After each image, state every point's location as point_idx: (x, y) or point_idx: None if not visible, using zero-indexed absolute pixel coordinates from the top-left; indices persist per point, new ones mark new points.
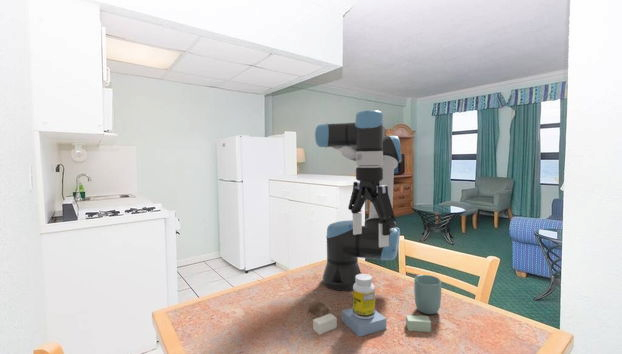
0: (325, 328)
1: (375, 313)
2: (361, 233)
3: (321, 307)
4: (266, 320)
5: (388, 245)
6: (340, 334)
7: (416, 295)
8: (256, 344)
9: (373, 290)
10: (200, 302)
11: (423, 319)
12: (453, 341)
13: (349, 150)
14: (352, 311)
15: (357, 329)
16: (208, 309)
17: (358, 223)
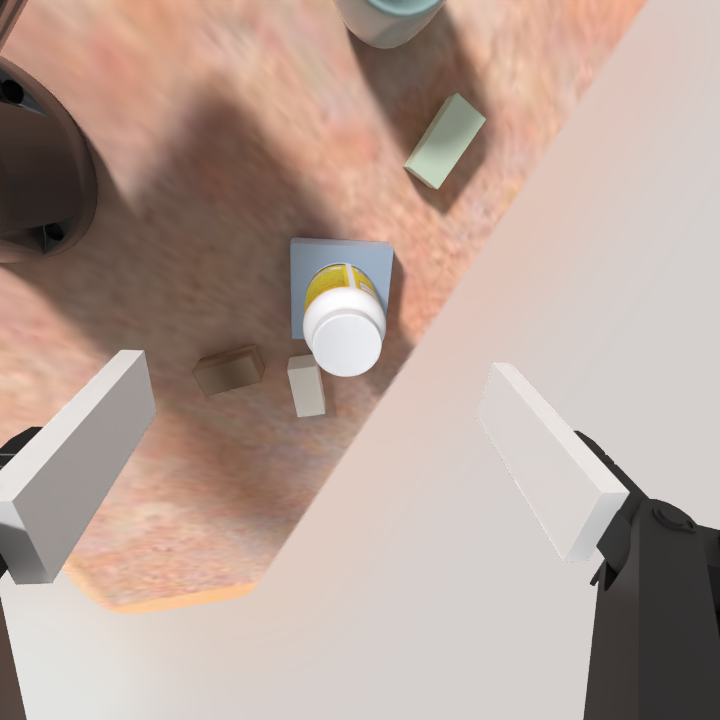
0: (322, 389)
1: (353, 259)
2: (143, 353)
3: (245, 376)
4: (218, 472)
5: (512, 368)
6: None
7: (377, 38)
8: (299, 501)
9: (383, 312)
10: (81, 565)
11: (461, 131)
12: (543, 100)
13: None
14: None
15: None
16: (124, 554)
17: (104, 440)
